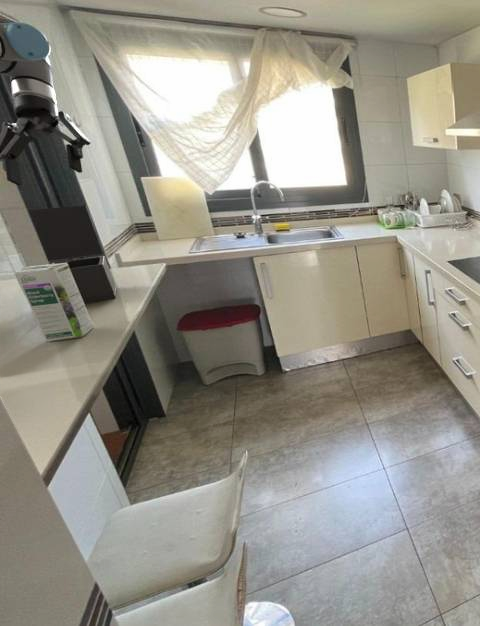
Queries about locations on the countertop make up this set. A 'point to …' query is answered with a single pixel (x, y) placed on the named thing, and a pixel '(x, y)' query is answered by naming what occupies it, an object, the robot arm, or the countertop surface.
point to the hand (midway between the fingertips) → (45, 176)
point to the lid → (66, 232)
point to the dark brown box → (92, 278)
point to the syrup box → (55, 301)
